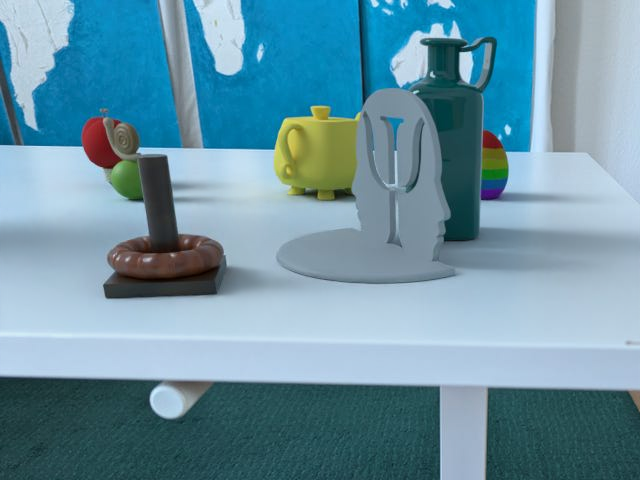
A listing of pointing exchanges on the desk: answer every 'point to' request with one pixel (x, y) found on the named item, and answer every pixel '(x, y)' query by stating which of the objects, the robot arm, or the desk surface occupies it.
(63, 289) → the desk surface
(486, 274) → the desk surface
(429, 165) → the ornament
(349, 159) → the teapot
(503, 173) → the decorative egg
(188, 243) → the ring
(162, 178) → the post
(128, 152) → the snail figurine
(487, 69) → the pitcher
